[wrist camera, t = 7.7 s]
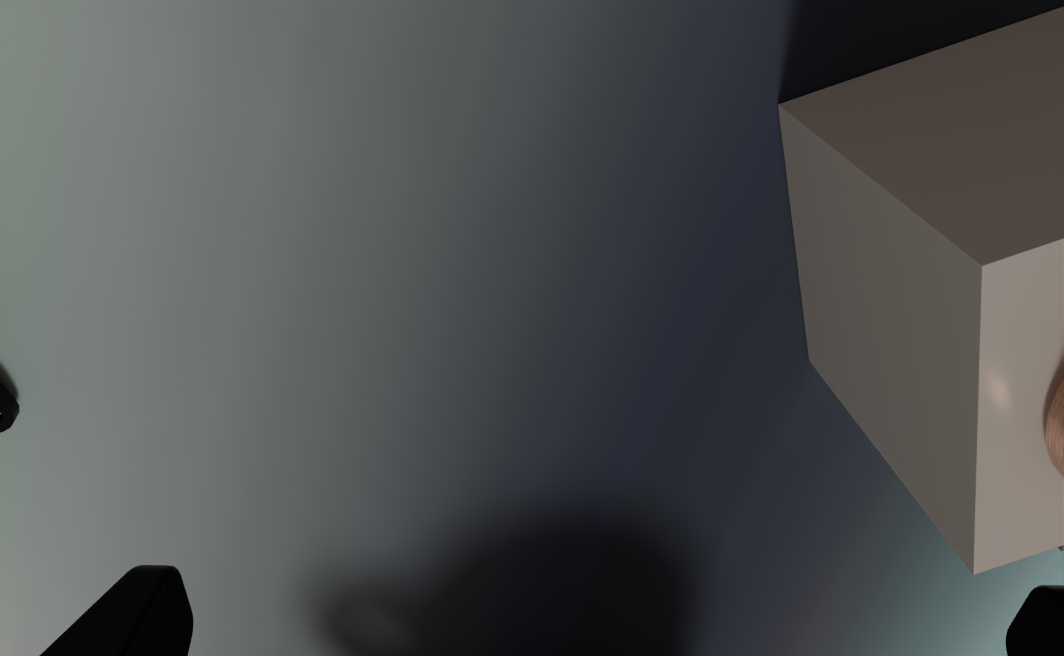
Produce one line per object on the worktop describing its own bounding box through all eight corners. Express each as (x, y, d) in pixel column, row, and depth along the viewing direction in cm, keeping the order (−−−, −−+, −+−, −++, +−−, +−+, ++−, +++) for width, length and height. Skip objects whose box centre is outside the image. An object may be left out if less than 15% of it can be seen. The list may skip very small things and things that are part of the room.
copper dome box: (814, 405, 26) (972, 624, 19) (777, 104, 20) (982, 265, 13) (1068, 320, 25) (1316, 510, 19) (1101, -7, 20) (1468, 101, 13)
